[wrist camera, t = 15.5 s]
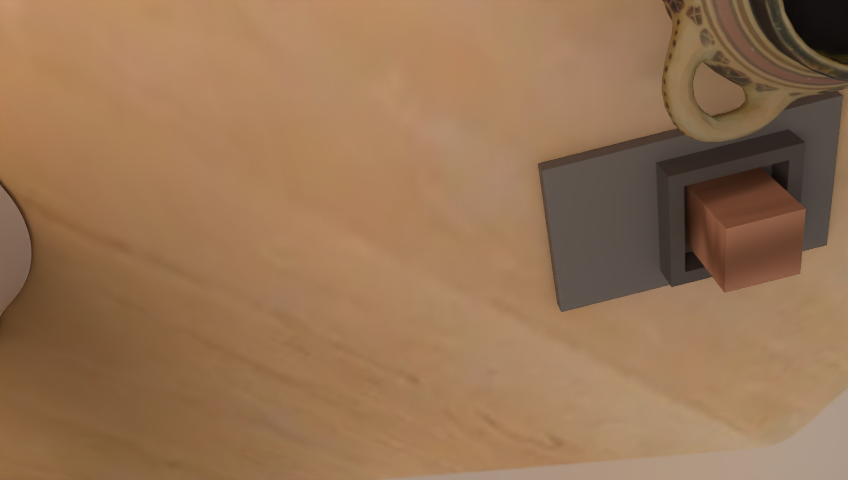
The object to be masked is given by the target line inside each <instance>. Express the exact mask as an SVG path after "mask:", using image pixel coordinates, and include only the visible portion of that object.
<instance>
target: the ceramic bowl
mask: <svg viewBox="0 0 848 480" xmlns="http://www.w3.org/2000/svg"><path fill="white" fill-rule="evenodd" d="M663 1H664V4H665V7H666V9H667V12H668V15H669V16H670V18H671V20H672V22H673V27H672V35H671V39H670V43H669V47H668V52H667V56H666V60H665V64H664V71H663V77H662V94H663V99H664V104H665V108H666V110H667V112H668V114H669V116H670V118H671V120H672V122H673V123H674V124H675V126H676V127H677V128H678V129H679V130H680V131H681V132H682V133H683V134H684V135H686V136H688V137H690V138H692V139H695V140H699V141H703V142H722V141H727V140H732V139H737V138H740V137H743V136H746V135H749V134H751V133H753V132H755V131H757V130H759V129H761V128H762V127H764V126H765V125H767V124H768V123H769V122H771V121H772V120H774V119H775V118H776V117H777V116H778V115H779V114H780V113H781V112H782V111H783V110H784V109H785V108H786V107H787V106H788V105H789V104H790V103H791V102H793V101H794V100H796V99H798V98H800V97H804V96H808V95H818V94H824V93H829V92H833V91H837V90H842V89H846V88H848V0H663ZM701 62H704V63H705V64H706V65H707V66H709V67H710V68H711V69H712V70H714V71H715V72H717V73H718V74H720V75H722V76H723V77H725V78H727V79H728V80H730V81H732V82H734V83H736V84H737V85H739V86H741V87H742V88H743V90H744V92H745V99H746V101H745V102H744V103H743V104H742V105H741V106H740V107H739V108H737V109H735V110H733V111H730V112H727V113H723V114H718V115H714V116H710V115H709V114H707V113H705V112H704V111H703V110H702V109H701V108H700V107H699V106H698V105H697V102H696V100H695V98H694V92H693V79H694V75H695V72H696V69H697V67H698V66H699V64H700V63H701Z"/></svg>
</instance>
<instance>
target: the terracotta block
mask: <svg viewBox="0 0 848 480" xmlns="http://www.w3.org/2000/svg"><path fill="white" fill-rule="evenodd" d="M805 212H806V209H805V208H804V207H803V206H802V205H801V204H800V203H799V202H798V201H797V200H796V199H795V198H794V197H792V196H791V195H790V194H789V193H788V192H787V191H786V190H785V189H784V188H783V187H782V186H780V185H779V184H778V183H777V182H776V181H775V180H774V179H773V178H772V177H771V176H770V175H769V174H767V173H766V172H765V171H764V170H763V169H762V168H761V167H759V168H755V169H751V170H747V171H743V172H739V173H735V174H731V175H727V176H723V177H719V178H715V179H711V180H707V181H704V182H700V183H696V184H692V185H688V186H685V239H686V243H687V245H688V246H689V247H690V248H691V250H692V251H693V252H694V254H695V255H696V256H697V257H698V259H699V260H700V261H701V263H702V264H703V265H704V266H705V268H706V269H707V270H708V272H709V273H710V274H711V276H712V277H713V278H714V279H715V281H716V282H717V283H718V285H719V286H720V287H721V288H722V290H723V291H724V292H729V291H733V290H737V289H741V288H745V287H749V286H753V285H757V284H761V283H765V282H769V281H773V280H776V279H780V278H784V277H788V276H792V275H796V274H800V270H801V258H802V247H803V235H804V223H805Z"/></svg>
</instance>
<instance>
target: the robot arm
mask: <svg viewBox="0 0 848 480" xmlns="http://www.w3.org/2000/svg"><path fill="white" fill-rule="evenodd" d="M30 265H31V242H30V237H29V233H28V230H27V227H26V224H25V222H24V219H23V217H22V215H21V213H20V211H19V209H18V208H17V206H16V205H15V203H14V202H13V200H12V199H11V197H10V196H9V195H8V194H7V192H6V191H5V190H4V189H3V188H2V187H1V186H0V317H1V315H2V313H3V311H4V310H5V309H6V308H7V307H8V305H9V304H10V303H11V302H12V301H13V299H14V298H15V297H16V296H17V295H18V293H19V292H20V291H21V289H22V287H23V286H24V283H25V281H26V279H27V276H28V274H29V270H30Z"/></svg>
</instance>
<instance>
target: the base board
mask: <svg viewBox="0 0 848 480" xmlns="http://www.w3.org/2000/svg"><path fill="white" fill-rule="evenodd" d="M842 98H843V95H841V94H840V93H838V92H837V91H833V92H829V93H824V94H818V95H810V96H806V97H802V98H798V99H796V100H794V101H793V102H791V103H790V104H789V105H788V106H787V107H786V108H785V109H784V110H783V111H782V112H781V113H780V114H779V115H778V116H777V117H776V118H775V119H774V120H772V121H771V122H769V123H768V124H767V125H765V126H764V127H762V128H761V129H759V130H757V131H755V132H753V133H751V134H749V135H746V136H743V137H740V138H737V139H732V140H727V141H722V142H703V141H699V140H695V139H692V138H690V137H688V136H686V135H684V134H683V133H682V132H681V131H680V130H679V129H675V130H671V131H667V132H663V133H659V134H655V135H651V136H647V137H643V138H639V139H635V140H631V141H627V142H623V143H619V144H615V145H611V146H607V147H603V148H599V149H595V150H591V151H587V152H583V153H579V154H575V155H571V156H567V157H563V158H559V159H555V160H551V161H547V162H543V163H539V164H538V166H539V173H540V181H541V188H542V195H543V202H544V210H545V217H546V224H547V231H548V239H549V246H550V253H551V260H552V268H553V275H554V282H555V289H556V297H557V304H558V306H559V308H560V310H561V312H564V311H568V310H571V309H575V308H579V307H583V306H587V305H591V304H595V303H599V302H603V301H607V300H611V299H615V298H619V297H623V296H627V295H631V294H635V293H639V292H643V291H647V290H651V289H655V288H659V287H663V286H667V285H671V287H674V286H678V285H682V284H686V283H690V282H694V281H698V280H702V279H705V278H709V277H712V276H711V274H710V273H709V272H708V270H707V269H706V268H705V266H704V265H703V264H702V263H701V261H700V260H699V259H698V257H697V256H696V255H695V254H694V252H693V251H692V250H691V248H690V247H689V246H688V245H687V243H686V239H685V186H688V185H692V184H696V183H700V182H704V181H707V180H711V179H715V178H719V177H723V176H727V175H731V174H735V173H739V172H743V171H747V170H751V169H755V168H759V167H761V168H762V169H763V170H764V171H765V172H766V173H767V174H769V175H770V176H771V177H772V178H773V179H774V180H775V181H776V182H777V183H778V184H779V185H780V186H782V187H783V188H784V189H785V190H786V191H787V192H788V193H789V194H790V195H791V196H792V197H794V198H795V199H796V200H797V201H798V202H799V203H800V204H801V205H802V206H803V207H804V208H805V209H806V212H805V223H804V235H803V247H802V251H805V250H809V249H813V248H817V247H821V246H825V245H827V238H828V229H829V219H830V210H831V201H832V191H833V182H834V172H835V163H836V154H837V144H838V135H839V126H840V116H841V107H842Z"/></svg>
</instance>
